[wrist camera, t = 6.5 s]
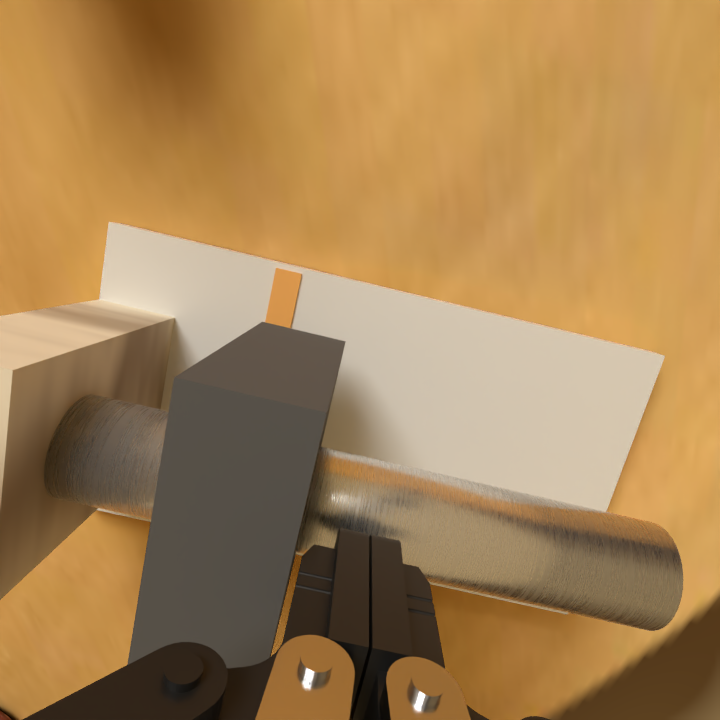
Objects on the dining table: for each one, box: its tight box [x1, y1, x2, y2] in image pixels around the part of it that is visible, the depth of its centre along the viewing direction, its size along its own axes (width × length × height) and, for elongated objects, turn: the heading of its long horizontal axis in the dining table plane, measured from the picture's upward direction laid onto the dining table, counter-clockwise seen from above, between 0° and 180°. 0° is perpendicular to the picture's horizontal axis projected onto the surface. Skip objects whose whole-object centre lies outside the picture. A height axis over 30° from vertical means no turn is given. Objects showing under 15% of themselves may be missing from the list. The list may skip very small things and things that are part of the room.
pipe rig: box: [0, 222, 683, 631], centre depth 16 cm, size 12×22×10 cm, turn 77°
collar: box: [128, 322, 346, 668], centre depth 14 cm, size 8×3×8 cm, turn 167°
